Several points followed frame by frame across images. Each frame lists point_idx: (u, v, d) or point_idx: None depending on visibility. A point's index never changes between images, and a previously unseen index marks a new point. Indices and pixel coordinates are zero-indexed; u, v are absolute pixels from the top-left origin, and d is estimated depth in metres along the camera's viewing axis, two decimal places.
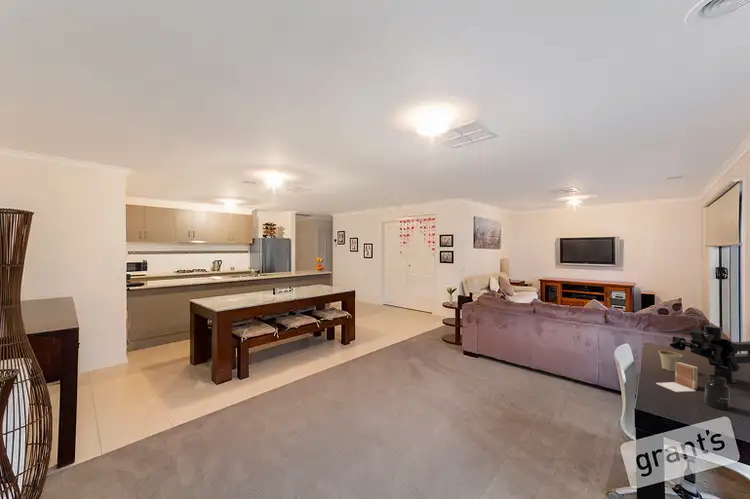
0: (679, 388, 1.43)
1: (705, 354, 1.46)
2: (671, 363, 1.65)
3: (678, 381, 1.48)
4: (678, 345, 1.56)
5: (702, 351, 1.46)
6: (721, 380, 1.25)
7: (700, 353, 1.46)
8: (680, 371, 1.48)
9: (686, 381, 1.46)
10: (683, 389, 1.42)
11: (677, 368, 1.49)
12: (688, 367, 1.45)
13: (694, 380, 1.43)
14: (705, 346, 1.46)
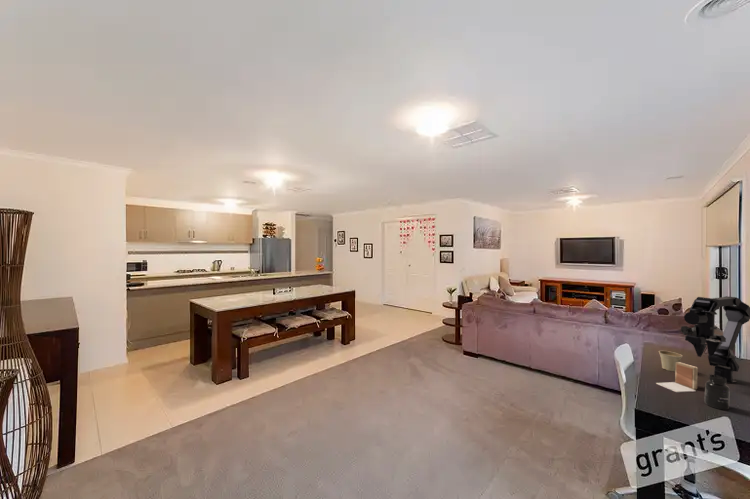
0: (679, 388, 1.43)
1: (700, 345, 1.48)
2: (671, 363, 1.65)
3: (678, 381, 1.48)
4: (711, 344, 1.51)
5: (697, 346, 1.49)
6: (721, 380, 1.25)
7: (699, 349, 1.48)
8: (680, 371, 1.48)
9: (686, 381, 1.46)
10: (683, 389, 1.42)
11: (677, 368, 1.49)
12: (688, 367, 1.45)
13: (694, 380, 1.43)
14: None
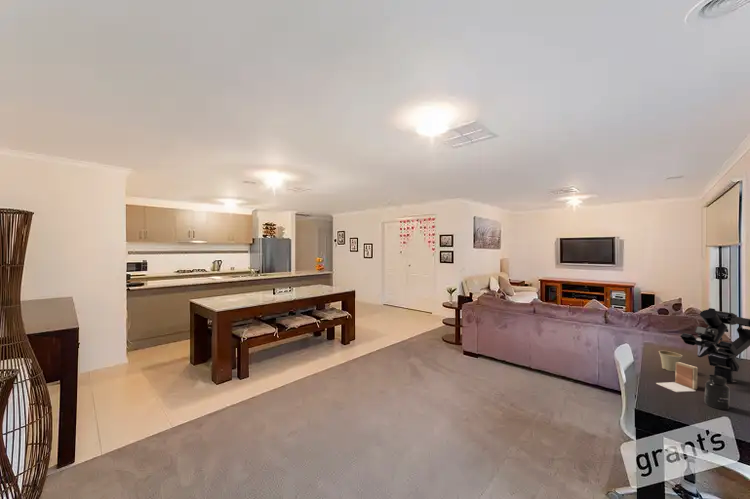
0: (679, 388, 1.43)
1: (710, 350, 1.49)
2: (671, 363, 1.65)
3: (678, 381, 1.48)
4: None
5: (707, 349, 1.49)
6: (721, 380, 1.25)
7: (706, 353, 1.49)
8: (680, 371, 1.48)
9: (686, 381, 1.46)
10: (683, 389, 1.42)
11: (677, 368, 1.49)
12: (688, 367, 1.45)
13: (694, 380, 1.43)
14: (706, 344, 1.49)
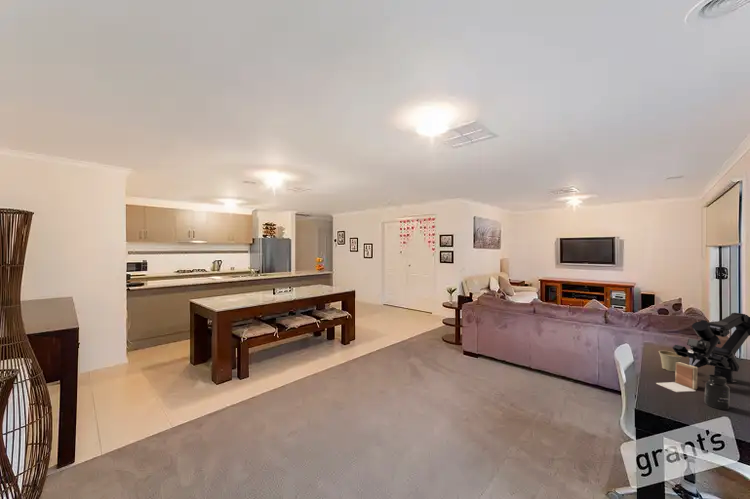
0: (679, 388, 1.43)
1: (702, 362, 1.47)
2: (671, 363, 1.65)
3: (678, 381, 1.48)
4: None
5: (698, 362, 1.47)
6: (721, 380, 1.26)
7: (698, 365, 1.47)
8: (680, 371, 1.48)
9: (686, 381, 1.46)
10: (683, 389, 1.42)
11: (677, 368, 1.49)
12: (688, 367, 1.45)
13: (694, 380, 1.43)
14: (698, 356, 1.47)
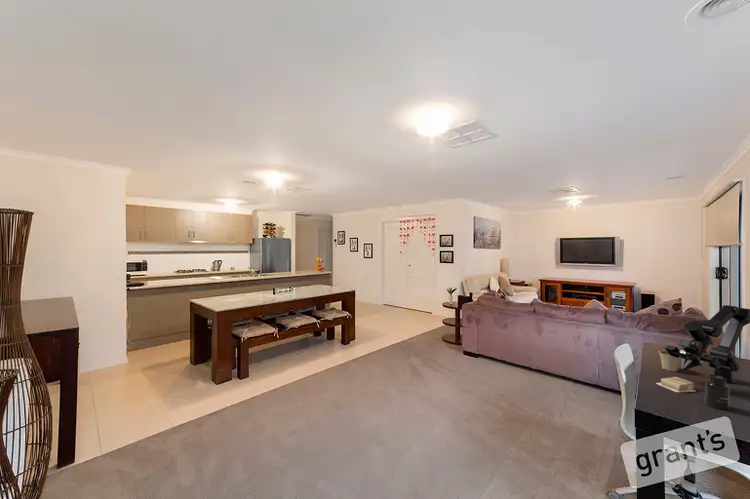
0: None
1: (694, 363, 1.46)
2: (671, 363, 1.65)
3: None
4: None
5: (690, 363, 1.46)
6: (721, 380, 1.26)
7: (690, 366, 1.46)
8: None
9: None
10: None
11: None
12: (674, 388, 1.42)
13: (687, 388, 1.42)
14: (690, 357, 1.46)
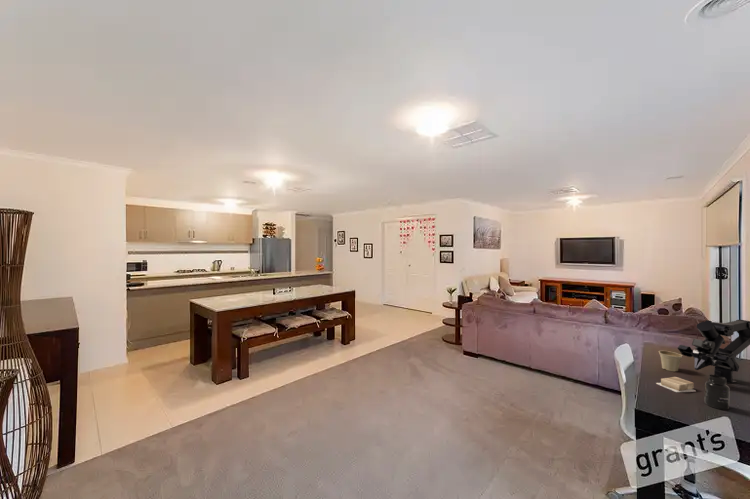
0: None
1: (707, 362, 1.48)
2: (671, 363, 1.65)
3: None
4: None
5: (704, 362, 1.48)
6: (721, 380, 1.25)
7: (704, 365, 1.48)
8: None
9: None
10: None
11: None
12: (674, 388, 1.42)
13: (687, 388, 1.42)
14: (703, 356, 1.48)
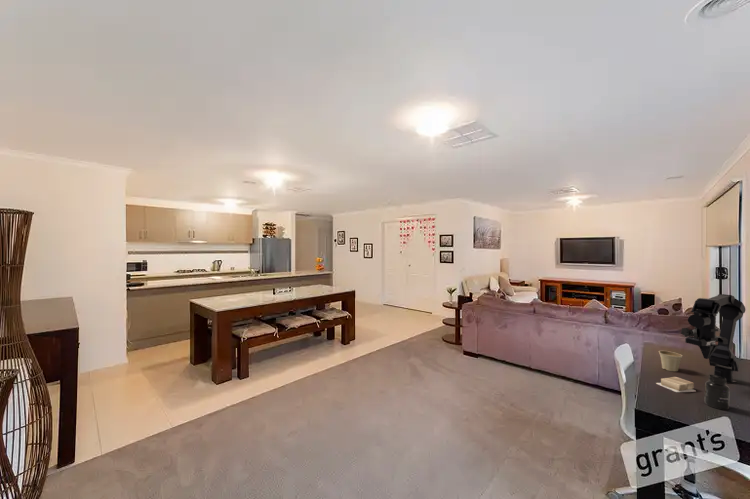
0: None
1: (706, 347, 1.46)
2: (671, 363, 1.65)
3: None
4: None
5: (703, 348, 1.47)
6: (721, 380, 1.25)
7: (706, 351, 1.46)
8: None
9: None
10: None
11: None
12: (674, 388, 1.42)
13: (687, 388, 1.42)
14: None
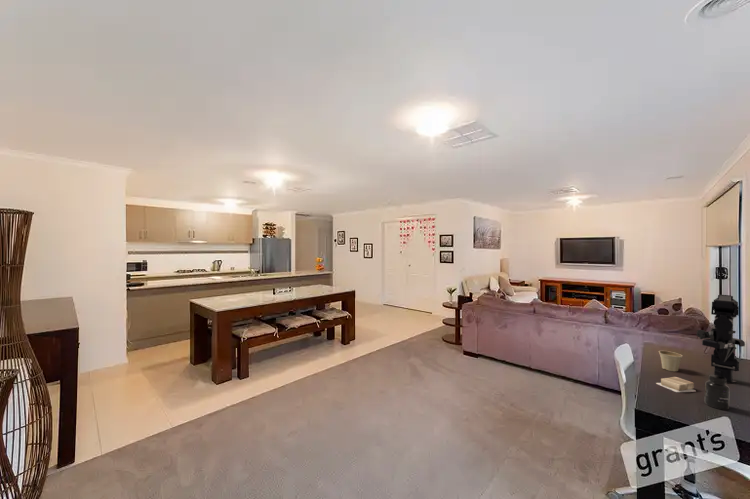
0: None
1: (724, 349, 1.42)
2: (671, 363, 1.65)
3: None
4: None
5: (720, 351, 1.43)
6: (721, 380, 1.25)
7: (723, 354, 1.42)
8: None
9: None
10: None
11: None
12: (674, 388, 1.42)
13: (687, 388, 1.42)
14: None
